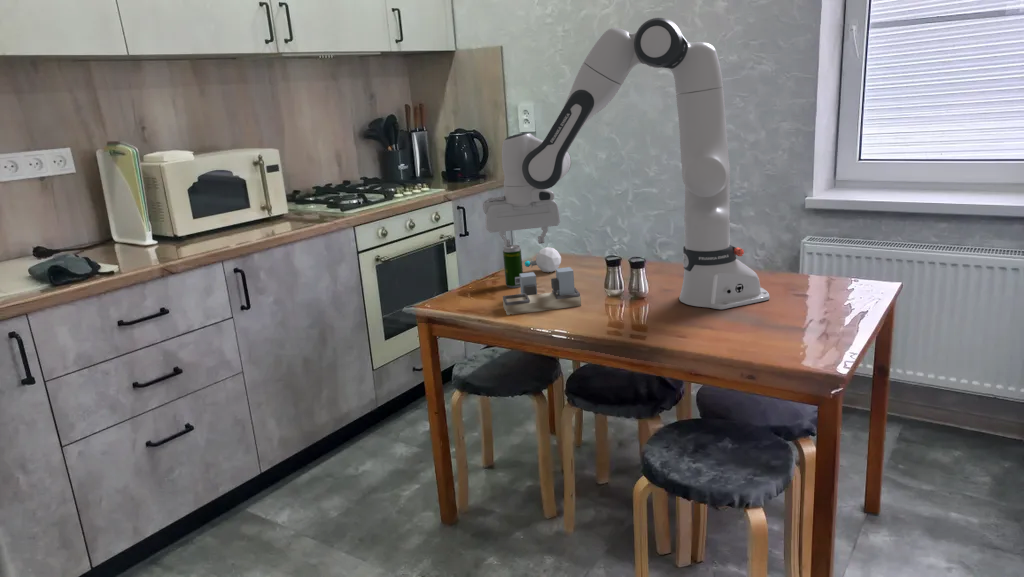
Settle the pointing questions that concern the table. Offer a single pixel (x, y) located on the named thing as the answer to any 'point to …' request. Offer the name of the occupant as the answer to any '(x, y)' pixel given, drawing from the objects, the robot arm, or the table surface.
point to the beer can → (512, 265)
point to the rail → (539, 302)
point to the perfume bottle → (546, 260)
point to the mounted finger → (563, 281)
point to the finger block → (528, 283)
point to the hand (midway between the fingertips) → (524, 244)
